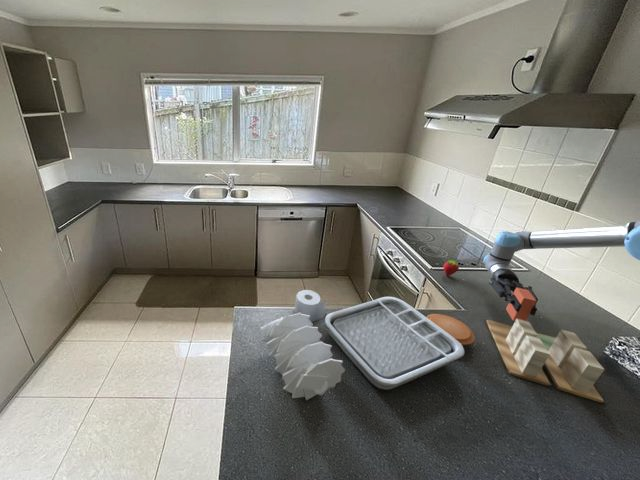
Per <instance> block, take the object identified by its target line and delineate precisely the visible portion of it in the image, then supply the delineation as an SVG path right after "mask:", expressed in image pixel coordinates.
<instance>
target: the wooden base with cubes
mask: <svg viewBox="0 0 640 480" xmlns="http://www.w3.org/2000/svg"><path fill="white" fill-rule="evenodd" d="M513 322H514V323H513V325H508V324H505V323H501V322H497V321H494V320H490V319H486V321H485V323H486V325H487V327H488V329H489V331H490V333H491V336H492V338H493V340H494V343H495V346H496V348H497V349H498V352H499V354H500V356H501V358H502V361H503V363H504V365H505V367H506V369H507V372H508V375H512V376H515V377H517V378H521V379H524V380H528V381H530V382H533V383H537V384H540V385H544V386H546V387H550V386H551V385H552V384H551V383H550V381H549V379H548V377H547V375H546V374H545V372H544V370H543V367H544V363H545V362H546V360H547V358H548V357H549V355H550V354H549V352H548V351H547V349H546V347H545V346H544V344H543V343H542V341H541V340H540V338H536V337H537V333H538V332H536V330H535V329H534V327H533V325H532V324H531V322H530V321H528V320H526V321H525V320H521V319H516V320H515V321H513Z"/></svg>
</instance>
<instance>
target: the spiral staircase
mask: <svg viewBox="0 0 640 480" xmlns="http://www.w3.org/2000/svg"><path fill="white" fill-rule="evenodd" d="M309 317H310V315H305V314H301V313H300V312H299V313H296V314H295V313H293V314H290V315H288V314H287V315H285V316H284V317H282V316H280V317H279V318H277V319H275V320H272V321H271V322H269V323H266V324H265V325H263V326H261V327H260V331H261V334H262V336H263V337H262V338H261V341H262V342H264V343H265V344H266V345H267V348H268V349H269V354H268V356H269V357H271V358H272V359H275V364H276V366H275V367H274V370H275V371H277V372H278V373H280V375H282V376H281V379H282V380H283V382H284V385H285V386H283V387H282V388H283V390H284V391H286V392H288V393H290V394H292V395H291V398H292V399H297V398H305V401H308V400H309V399H311V398H314V397H315V396H317V395H319V396H323V395H324V394H325V392H327V390H328V389H329V388H335V387H336V385H337V384H339V383H341V381H342V374H343V373H345V371H346V369H345V368H344V367H343V365H342V364H343V363H344V362H343V360H341V359H333V358H332V357H333V356H334V354H333V353H332V351H331V348H332V345H331V344H327V343H325V342H324V341H321V340H320V339H322V337H323V334H322V333H321V332H320V331H319V327H318V326H314V323H313V322H311V321H310V320H309Z"/></svg>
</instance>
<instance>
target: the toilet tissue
mask: <svg viewBox="0 0 640 480" xmlns="http://www.w3.org/2000/svg"><path fill="white" fill-rule="evenodd" d="M321 300H322V298H321V297H320V294H319V293H317V292H316V291H314V290H310V289H303V290H299V291H298V292H297V293H296V295H295V304H294V306H295V307H294V313H293V314H296V313H299V312H300V313H301V314H305V315H310V317H309V320H310V321H311V322H312V323H313V322H316V321H319V320H322V319H323V318H324V317H326V300H322V301H321Z"/></svg>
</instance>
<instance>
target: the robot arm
mask: <svg viewBox="0 0 640 480" xmlns="http://www.w3.org/2000/svg"><path fill="white" fill-rule="evenodd" d="M491 247H492V248H491V249H490V253H488V254H487V255H485V256H484V257H483V259H482V260H483V261H482V262H483V264H484V267H485V269H486V270H487V272H488V273H489V275H490V278H489V281H488V285H490V286H491V288H492V289H493V290H494V291H495V293H496V295H497V296H498V297H499V298H504V301H505V302H508V304H509V303H511V304H512V305H513V307H514V309H515V310H516V311H517V312H519V310H520V308H521V306H522V305H521V304H520V302H519V301H518V299H517V298H516V296H515V295H513V293H514V291H515V289H516V287H517V288H522V289H526V290H529V292H530V293H531V294H532V296H533V297H534V298H535V300H536V303H535V305H534V307H533V309H532V311H531V313H530V314H529V315H531V316H535V314H536V313H537V311H538V308H537V303H538V301H539V298H538V296H537V295H536V294H535V292H534V291H533V287H532V286H530V285H528V286H525V285H523V283H521V282H520V280H519V277H518V275H517V274H516V273H515V271H514V270H513V269H512V268H511V266H510V263H511V262H512V260H513V257H514V255H515V253H516V252H519V251H522V250H537V249H543V250H544V249H545V250H546V249H585V248H587V249H590V248H625V250H626V251H627V253H628V254H629V255H630V256H632V257H633V258H635V259H636V260H638V261H640V221H630V222H627V223H626V224H623V225H612V226H598V227H597V226H596V227H580V228H569V229H568V228H567V229H554V230H552V229H551V230H537V231H527V230H526V231H525V230H523V231H517V232H511V231H507V230H506V231H503V230H502V231H499V232H498V233H497V235H496V237H495V238H494V242H493V245H492V246H491Z"/></svg>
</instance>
